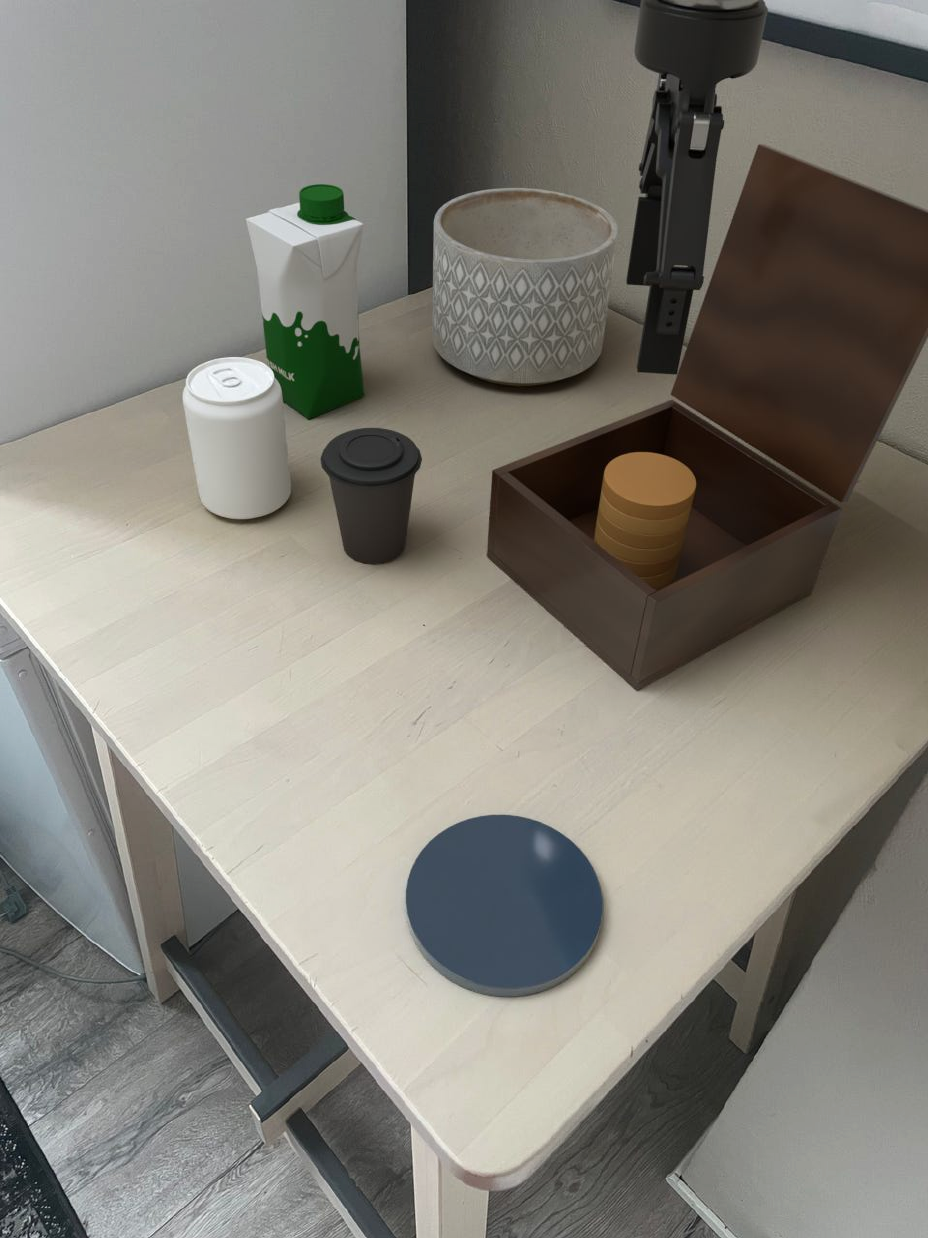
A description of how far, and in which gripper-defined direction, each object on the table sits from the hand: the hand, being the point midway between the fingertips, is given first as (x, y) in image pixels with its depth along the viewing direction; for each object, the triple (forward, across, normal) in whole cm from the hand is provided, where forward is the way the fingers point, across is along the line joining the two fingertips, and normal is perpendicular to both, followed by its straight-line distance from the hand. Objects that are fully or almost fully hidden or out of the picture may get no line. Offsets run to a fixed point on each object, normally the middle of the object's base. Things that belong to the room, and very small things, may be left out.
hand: (649, 324), depth 75 cm
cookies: (+20, +5, +1) cm, 20 cm away
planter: (+21, -33, -9) cm, 40 cm away
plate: (+21, +36, -8) cm, 43 cm away
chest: (+20, +4, +3) cm, 21 cm away
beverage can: (+21, -3, -33) cm, 39 cm away
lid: (+1, -3, +12) cm, 12 cm away
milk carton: (+21, -21, -30) cm, 42 cm away
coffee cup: (+21, +2, -21) cm, 29 cm away
